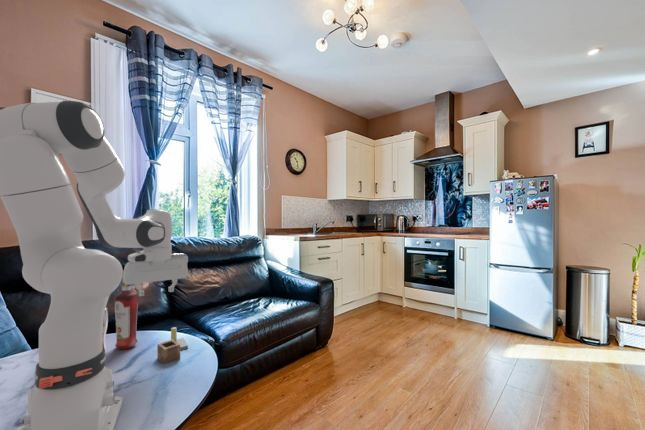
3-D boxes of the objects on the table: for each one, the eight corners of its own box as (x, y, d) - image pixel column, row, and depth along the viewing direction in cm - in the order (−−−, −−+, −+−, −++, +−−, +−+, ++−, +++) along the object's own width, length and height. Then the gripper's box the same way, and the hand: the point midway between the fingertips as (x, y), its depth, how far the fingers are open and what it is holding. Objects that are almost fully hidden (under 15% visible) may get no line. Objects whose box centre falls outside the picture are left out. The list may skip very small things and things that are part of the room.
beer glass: (86, 349, 105) (86, 307, 105) (110, 345, 108) (110, 305, 108) (80, 357, 98) (80, 313, 98) (105, 353, 101) (105, 311, 101)
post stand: (187, 348, 105) (188, 329, 105) (163, 354, 101) (163, 334, 101) (183, 340, 112) (183, 322, 112) (159, 346, 107) (159, 327, 107)
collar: (180, 359, 97) (180, 344, 97) (164, 364, 94) (164, 349, 94) (172, 353, 101) (172, 339, 101) (157, 358, 98) (157, 344, 98)
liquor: (109, 350, 104) (109, 272, 104) (126, 341, 111) (126, 269, 111) (126, 352, 102) (126, 273, 102) (143, 343, 109) (142, 269, 109)
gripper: (185, 252, 113) (184, 287, 112) (122, 256, 99) (121, 296, 99) (190, 253, 108) (190, 290, 108) (125, 257, 94) (124, 300, 94)
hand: (156, 293), depth 103 cm, fingers open, 8 cm apart
